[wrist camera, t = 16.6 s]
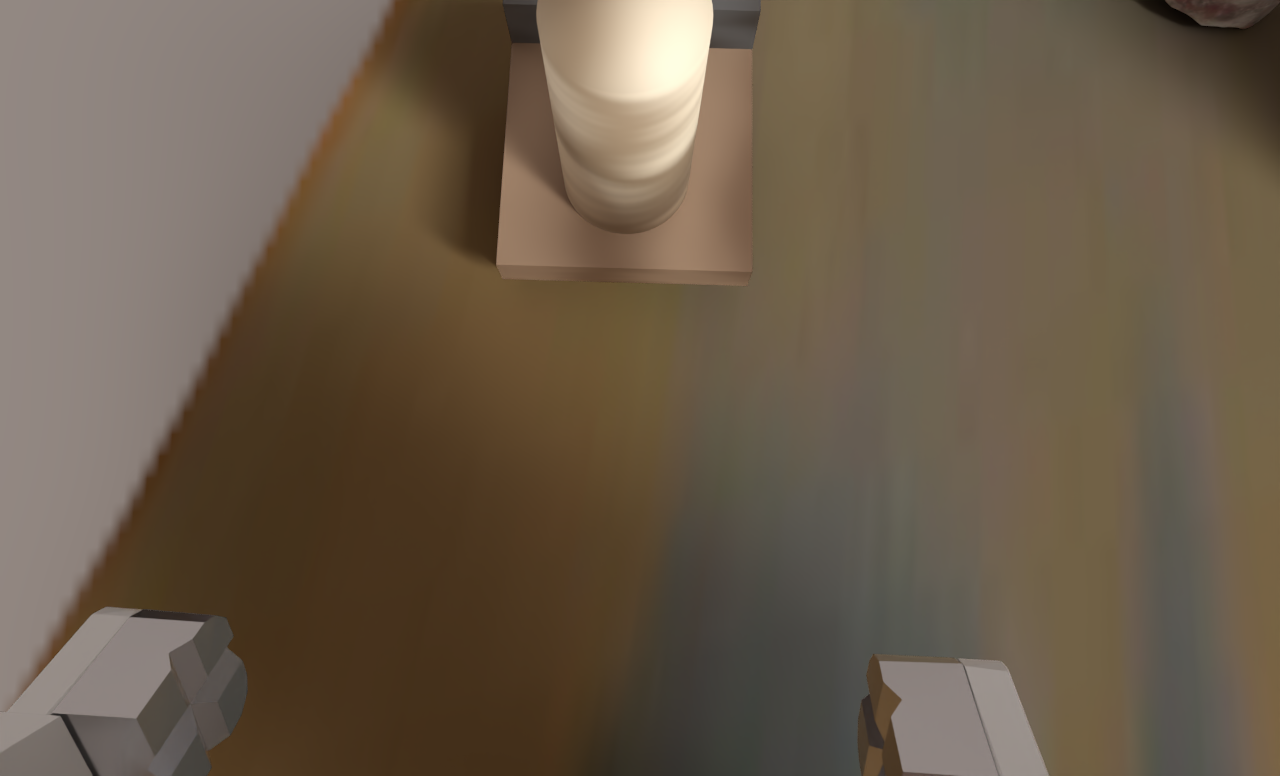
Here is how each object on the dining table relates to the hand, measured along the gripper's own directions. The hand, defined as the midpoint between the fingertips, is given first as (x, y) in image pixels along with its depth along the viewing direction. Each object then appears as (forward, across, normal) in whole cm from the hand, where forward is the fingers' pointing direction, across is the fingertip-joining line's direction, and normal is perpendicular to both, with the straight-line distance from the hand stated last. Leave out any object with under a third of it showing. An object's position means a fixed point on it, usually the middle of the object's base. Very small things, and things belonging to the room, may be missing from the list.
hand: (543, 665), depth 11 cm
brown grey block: (+30, +2, +3) cm, 30 cm away
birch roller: (+26, +1, +1) cm, 26 cm away
